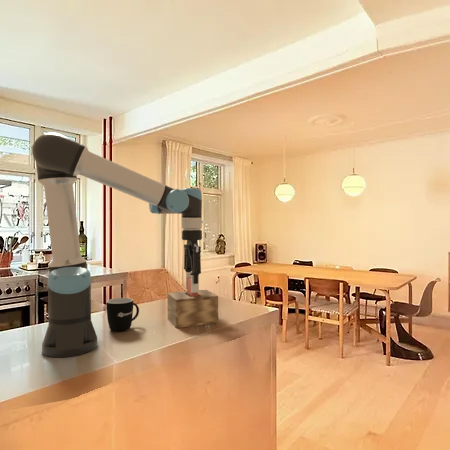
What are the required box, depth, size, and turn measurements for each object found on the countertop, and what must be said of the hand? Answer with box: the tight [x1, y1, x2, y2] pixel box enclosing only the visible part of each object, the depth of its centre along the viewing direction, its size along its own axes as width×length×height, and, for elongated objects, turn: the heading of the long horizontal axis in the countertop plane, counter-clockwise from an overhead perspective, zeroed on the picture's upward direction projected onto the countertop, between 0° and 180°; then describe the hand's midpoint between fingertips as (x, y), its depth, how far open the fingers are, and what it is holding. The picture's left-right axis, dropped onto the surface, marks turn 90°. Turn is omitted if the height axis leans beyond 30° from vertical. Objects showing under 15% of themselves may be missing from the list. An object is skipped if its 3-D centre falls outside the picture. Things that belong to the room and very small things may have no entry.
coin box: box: [166, 289, 219, 329], centre depth 135 cm, size 16×13×10 cm
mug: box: [105, 297, 140, 333], centre depth 126 cm, size 12×9×10 cm
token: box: [186, 278, 198, 297], centre depth 135 cm, size 2×6×6 cm, turn 23°
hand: (192, 290), depth 135 cm, fingers open, 6 cm apart
